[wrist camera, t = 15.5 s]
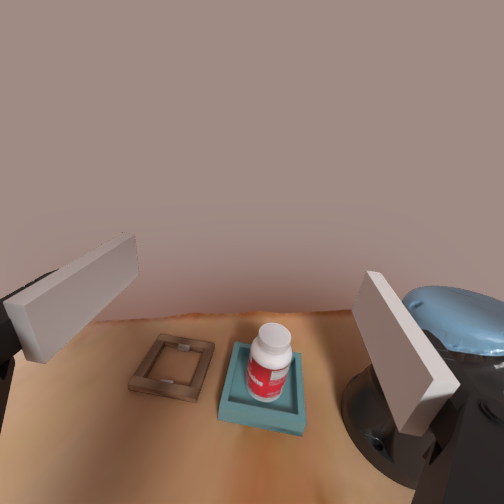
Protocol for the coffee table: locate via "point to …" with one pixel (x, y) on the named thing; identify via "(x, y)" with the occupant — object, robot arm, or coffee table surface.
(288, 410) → the tray
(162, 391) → the bottle holder
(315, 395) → the coffee table surface
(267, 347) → the pill bottle
